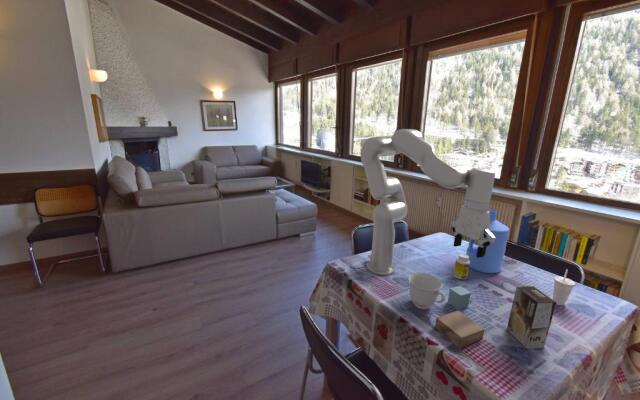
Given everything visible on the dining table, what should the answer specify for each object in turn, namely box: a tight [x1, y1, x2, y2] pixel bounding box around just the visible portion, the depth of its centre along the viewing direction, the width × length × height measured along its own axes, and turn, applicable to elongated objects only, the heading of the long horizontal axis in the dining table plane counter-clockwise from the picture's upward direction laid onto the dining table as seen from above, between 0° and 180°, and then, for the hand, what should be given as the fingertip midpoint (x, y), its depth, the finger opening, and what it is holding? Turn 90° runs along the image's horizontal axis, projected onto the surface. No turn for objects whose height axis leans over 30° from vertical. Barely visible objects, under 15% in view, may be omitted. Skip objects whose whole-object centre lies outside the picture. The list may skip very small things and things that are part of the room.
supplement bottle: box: [453, 253, 470, 280], centre depth 129 cm, size 6×6×10 cm
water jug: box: [465, 209, 510, 274], centre depth 137 cm, size 16×16×28 cm
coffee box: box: [506, 285, 557, 350], centre depth 91 cm, size 9×6×16 cm
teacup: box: [407, 272, 446, 310], centre depth 106 cm, size 12×15×10 cm
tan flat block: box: [434, 310, 485, 349], centre depth 94 cm, size 10×10×4 cm
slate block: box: [447, 285, 472, 311], centre depth 109 cm, size 5×5×6 cm
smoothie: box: [552, 268, 576, 306], centre depth 112 cm, size 6×6×14 cm
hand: (468, 251), depth 104 cm, fingers open, 9 cm apart
